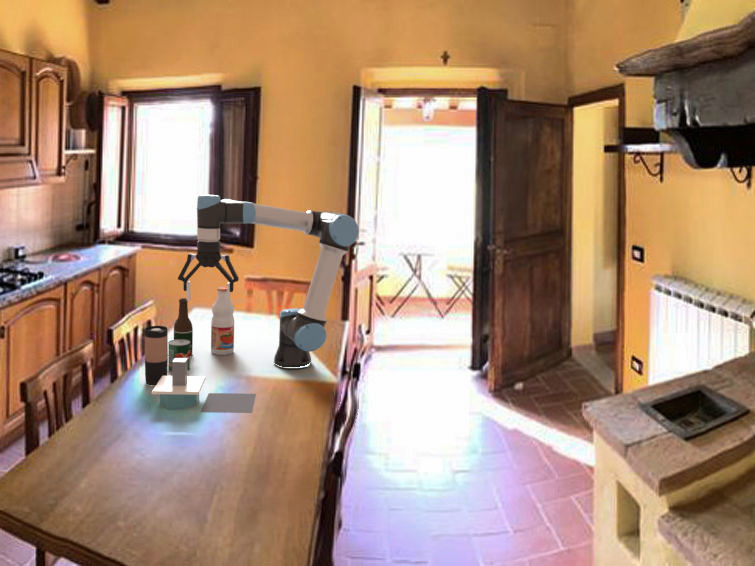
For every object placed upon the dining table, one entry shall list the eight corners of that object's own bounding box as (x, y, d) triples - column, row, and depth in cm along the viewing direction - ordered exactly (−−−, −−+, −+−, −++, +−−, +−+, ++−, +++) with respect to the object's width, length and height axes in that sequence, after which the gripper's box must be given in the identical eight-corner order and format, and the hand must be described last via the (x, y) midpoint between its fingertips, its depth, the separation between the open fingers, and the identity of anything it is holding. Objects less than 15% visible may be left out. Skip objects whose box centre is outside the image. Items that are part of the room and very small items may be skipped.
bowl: (201, 397, 191) (201, 380, 190) (194, 410, 180) (194, 393, 179) (165, 396, 190) (165, 379, 189) (156, 410, 178) (156, 392, 177)
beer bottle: (189, 359, 229) (189, 301, 224) (170, 357, 229) (170, 300, 224) (195, 353, 236) (196, 297, 232) (177, 352, 236) (177, 296, 232)
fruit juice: (219, 347, 246) (220, 284, 241) (238, 351, 243) (239, 287, 238) (206, 353, 238) (207, 288, 233) (224, 356, 234) (226, 291, 229)
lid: (205, 379, 192) (205, 353, 190) (198, 394, 178) (198, 367, 176) (162, 378, 190) (162, 352, 188) (152, 394, 176) (151, 366, 174)
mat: (256, 395, 196) (256, 393, 196) (251, 414, 180) (251, 412, 180) (208, 394, 194) (208, 393, 194) (200, 413, 178) (200, 412, 178)
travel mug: (148, 378, 205) (148, 325, 202) (170, 378, 206) (170, 326, 202) (141, 385, 198) (141, 330, 194) (164, 386, 198) (164, 331, 195)
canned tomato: (183, 374, 212) (183, 346, 210) (164, 371, 213) (164, 343, 211) (193, 367, 219) (194, 340, 217) (175, 365, 221) (175, 338, 219)
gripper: (246, 240, 199) (246, 298, 203) (173, 237, 195) (173, 297, 199) (244, 243, 191) (244, 303, 195) (168, 240, 188) (169, 302, 192)
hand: (208, 300), depth 197 cm, fingers open, 13 cm apart
